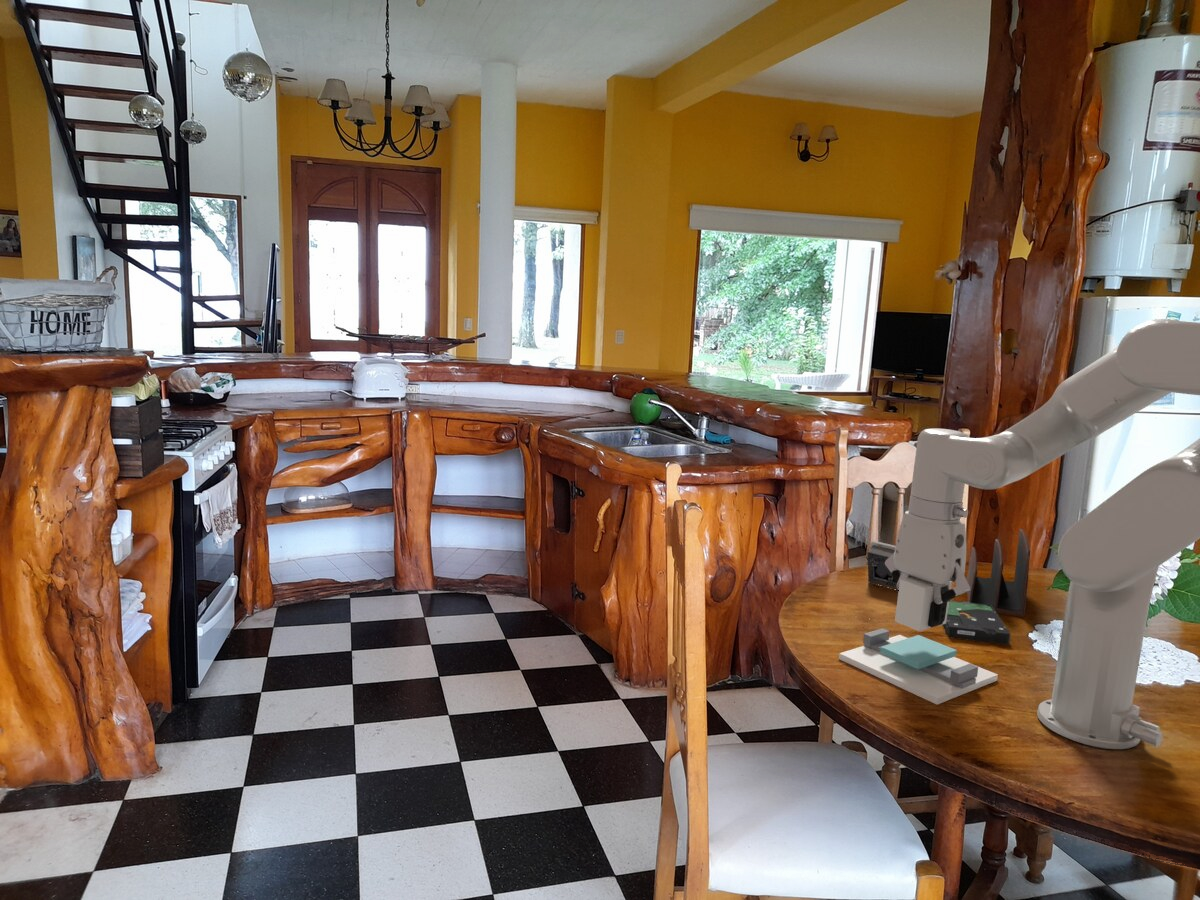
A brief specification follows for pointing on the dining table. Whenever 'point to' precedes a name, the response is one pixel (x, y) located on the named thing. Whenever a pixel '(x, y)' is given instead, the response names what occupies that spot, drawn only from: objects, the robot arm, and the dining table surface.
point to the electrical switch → (880, 564)
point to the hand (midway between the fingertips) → (920, 618)
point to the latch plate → (918, 651)
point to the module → (915, 603)
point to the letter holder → (1001, 581)
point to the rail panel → (917, 670)
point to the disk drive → (975, 623)
